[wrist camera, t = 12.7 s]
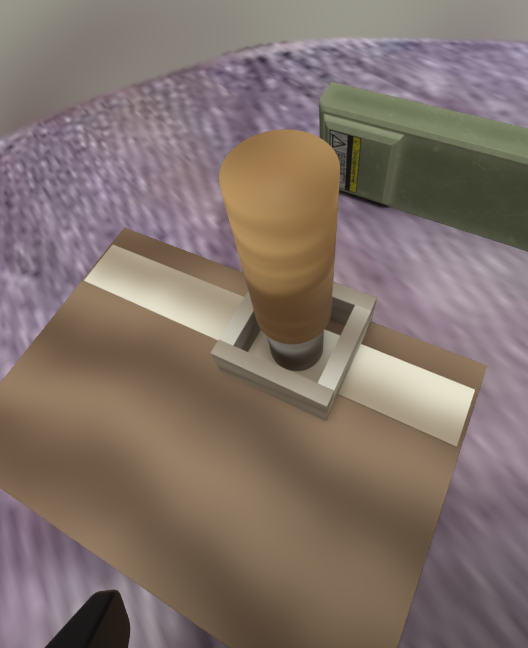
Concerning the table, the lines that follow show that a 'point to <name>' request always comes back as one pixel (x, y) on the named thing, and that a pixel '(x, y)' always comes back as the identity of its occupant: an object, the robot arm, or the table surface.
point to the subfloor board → (237, 450)
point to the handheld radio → (430, 161)
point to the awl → (285, 236)
